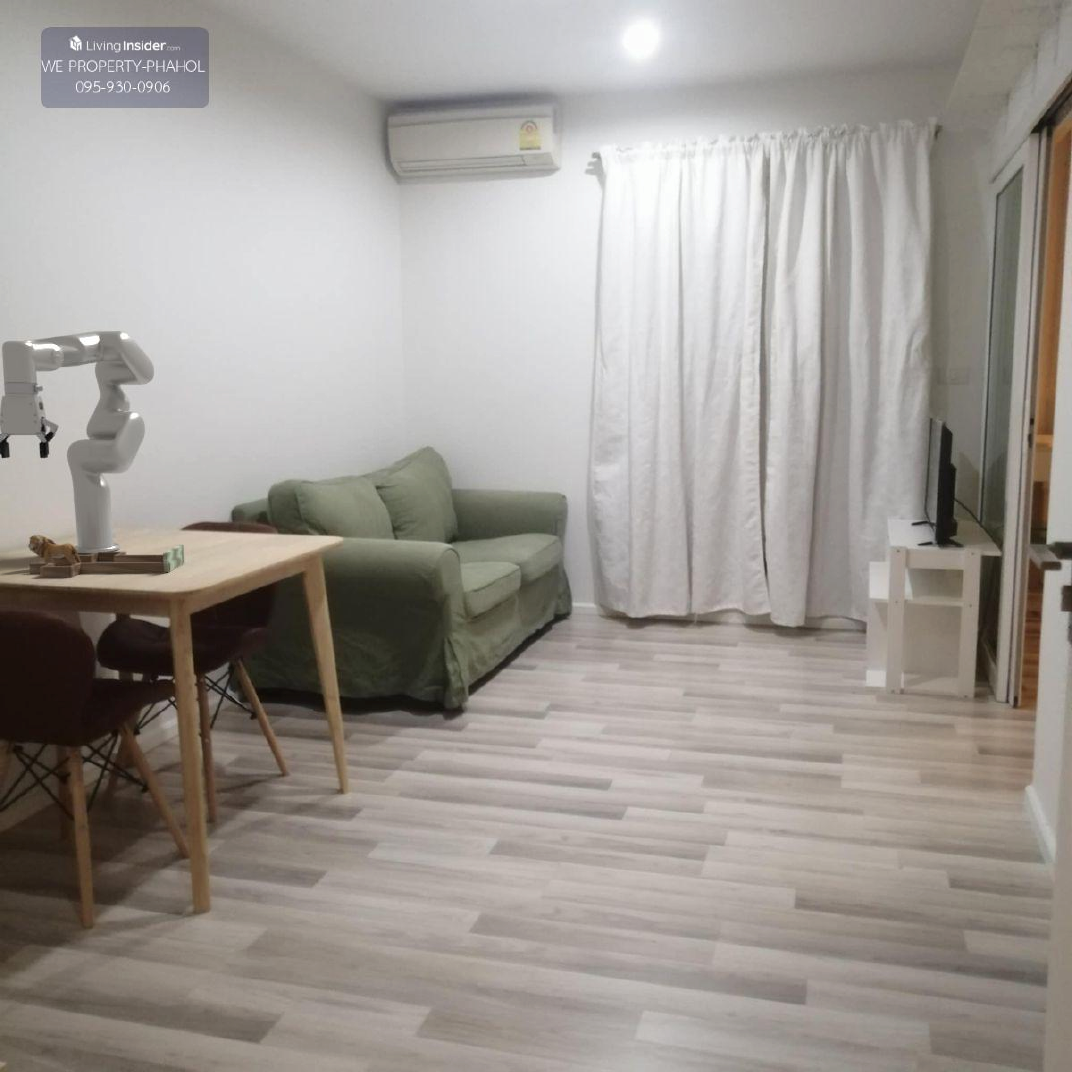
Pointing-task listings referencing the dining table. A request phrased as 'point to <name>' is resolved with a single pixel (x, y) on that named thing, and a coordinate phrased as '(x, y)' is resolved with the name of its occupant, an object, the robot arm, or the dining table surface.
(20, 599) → the dining table surface
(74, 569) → the wooden walled channel
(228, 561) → the dining table surface
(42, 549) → the lion figurine
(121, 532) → the dining table surface
